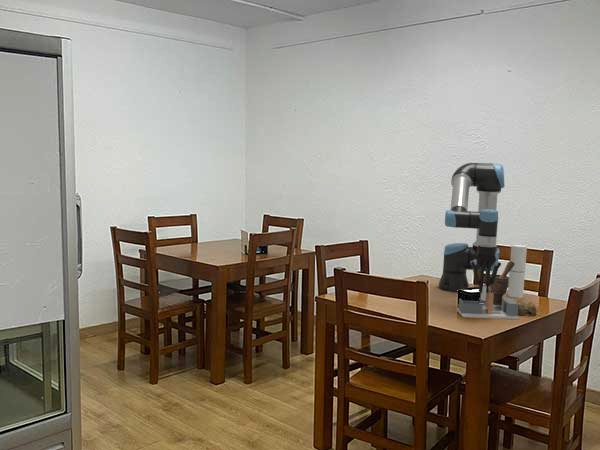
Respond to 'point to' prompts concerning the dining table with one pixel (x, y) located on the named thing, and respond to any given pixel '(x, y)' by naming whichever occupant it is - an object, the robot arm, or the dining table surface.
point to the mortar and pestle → (500, 284)
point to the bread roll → (526, 308)
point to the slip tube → (490, 304)
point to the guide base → (475, 311)
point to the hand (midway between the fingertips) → (482, 299)
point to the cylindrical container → (517, 271)
